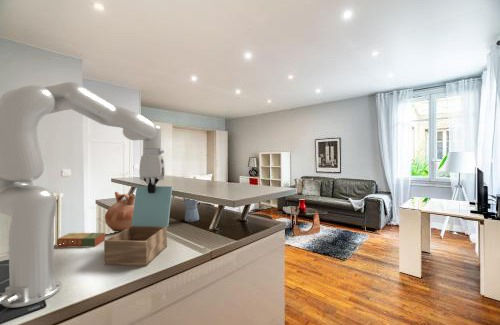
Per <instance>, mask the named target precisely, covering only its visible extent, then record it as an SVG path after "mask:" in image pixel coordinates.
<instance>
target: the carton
mask: <svg viewBox="0 0 500 325" xmlns="http://www.w3.org/2000/svg"><path fill="white" fill-rule="evenodd" d="M105 234H106V233H105V232H70V233H66V234H65V235H62V236H61V237H59V238H57V239H56V246H57V245H58V246H57V248H68V247H67V246H92V247H91V248H94V247H97V246H99V245H101V243H104V241H105V240H106V235H105ZM72 241H73V242H72ZM63 243H64V244H63ZM59 244H61V245H59Z"/></svg>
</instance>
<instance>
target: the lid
mask: <svg viewBox="0 0 500 325" xmlns="http://www.w3.org/2000/svg"><path fill="white" fill-rule="evenodd" d="M172 192H173V186H168V185H167V186H164V185H162V186H161V185H160V186H157V185H156V191H155V193H148V185H136V189H135V198H134V210H133V217H132V224H131V226H152V227H167V228H168V227H169V220H170V213H171V212H170V211H171V204H172V203H171V202H172V195H173V193H172Z"/></svg>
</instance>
